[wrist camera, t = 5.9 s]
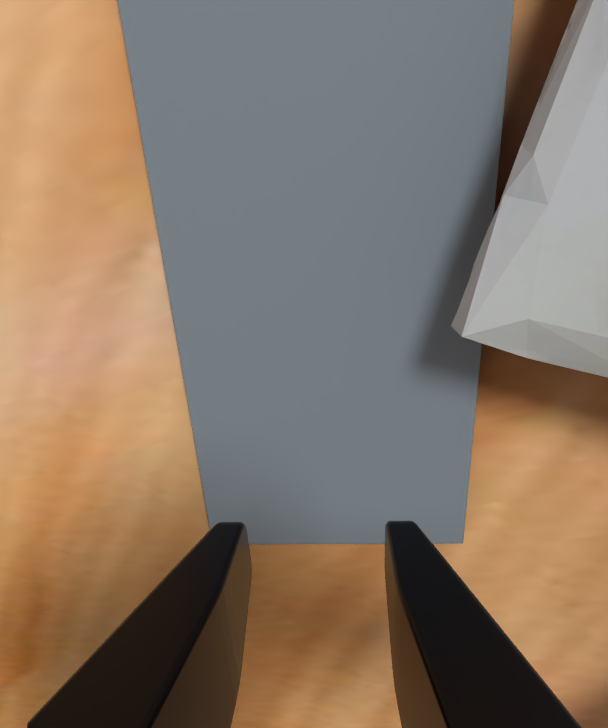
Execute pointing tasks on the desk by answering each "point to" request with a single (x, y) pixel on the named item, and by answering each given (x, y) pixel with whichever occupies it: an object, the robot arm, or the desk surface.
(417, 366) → the mat
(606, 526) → the desk surface
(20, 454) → the desk surface
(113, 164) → the desk surface
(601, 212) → the light grey block
